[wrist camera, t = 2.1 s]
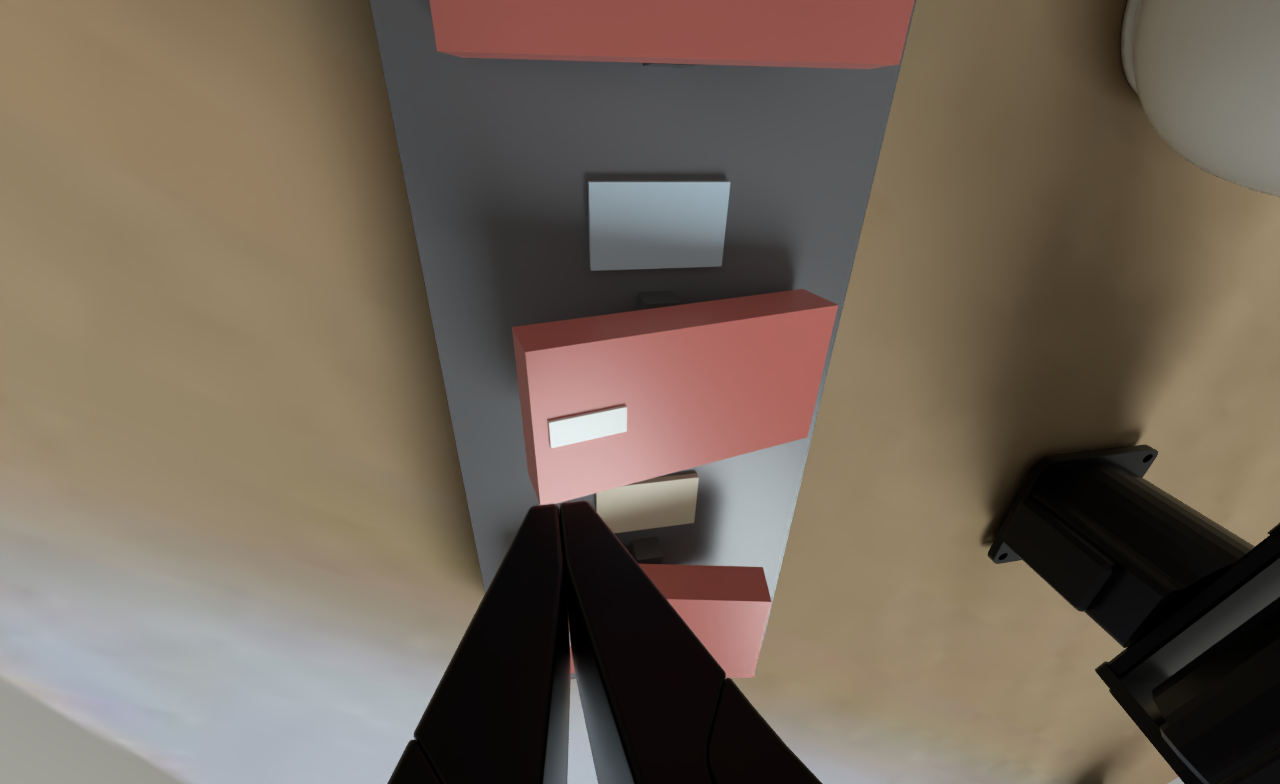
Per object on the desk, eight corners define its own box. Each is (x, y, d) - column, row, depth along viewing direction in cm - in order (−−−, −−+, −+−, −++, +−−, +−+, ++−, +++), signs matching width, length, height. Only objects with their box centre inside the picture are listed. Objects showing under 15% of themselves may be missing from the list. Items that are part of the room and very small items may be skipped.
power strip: (883, -320, 10) (1090, -562, 6) (718, 653, 26) (749, 743, 22) (334, -432, 8) (181, -861, 4) (520, 689, 24) (519, 794, 20)
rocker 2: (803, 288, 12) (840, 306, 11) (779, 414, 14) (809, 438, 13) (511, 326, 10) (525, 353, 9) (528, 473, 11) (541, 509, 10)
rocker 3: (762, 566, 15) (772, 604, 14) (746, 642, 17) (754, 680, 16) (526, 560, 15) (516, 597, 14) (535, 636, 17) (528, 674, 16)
